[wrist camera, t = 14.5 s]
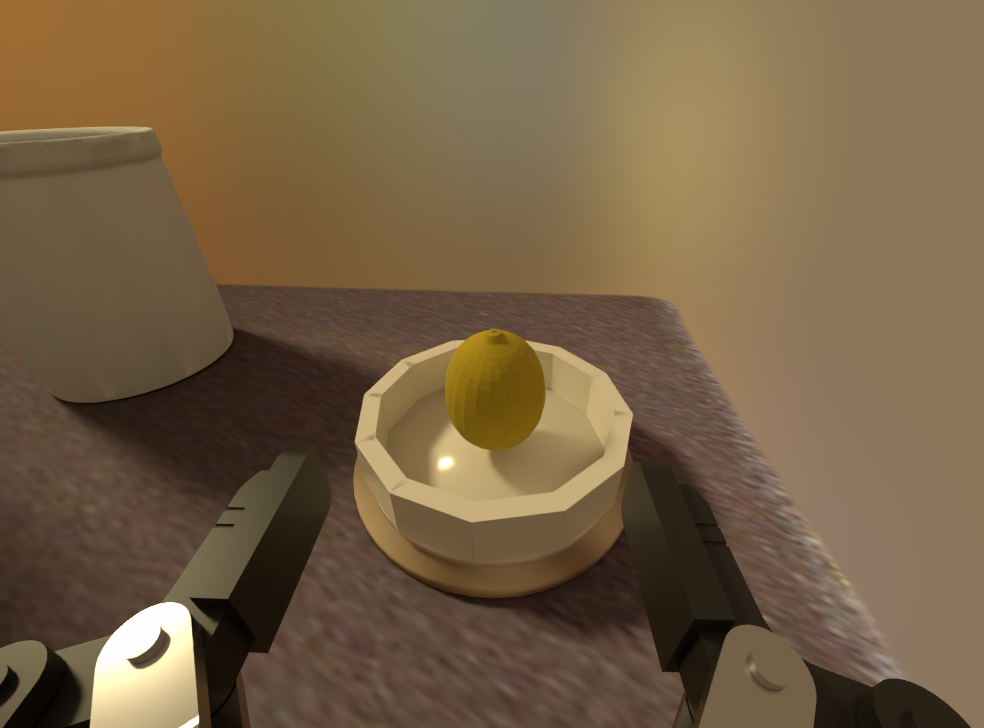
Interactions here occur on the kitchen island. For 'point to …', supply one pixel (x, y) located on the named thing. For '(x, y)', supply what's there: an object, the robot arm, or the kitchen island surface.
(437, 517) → the bowl
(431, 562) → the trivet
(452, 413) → the lemon
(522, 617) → the kitchen island surface
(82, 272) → the utensil holder
